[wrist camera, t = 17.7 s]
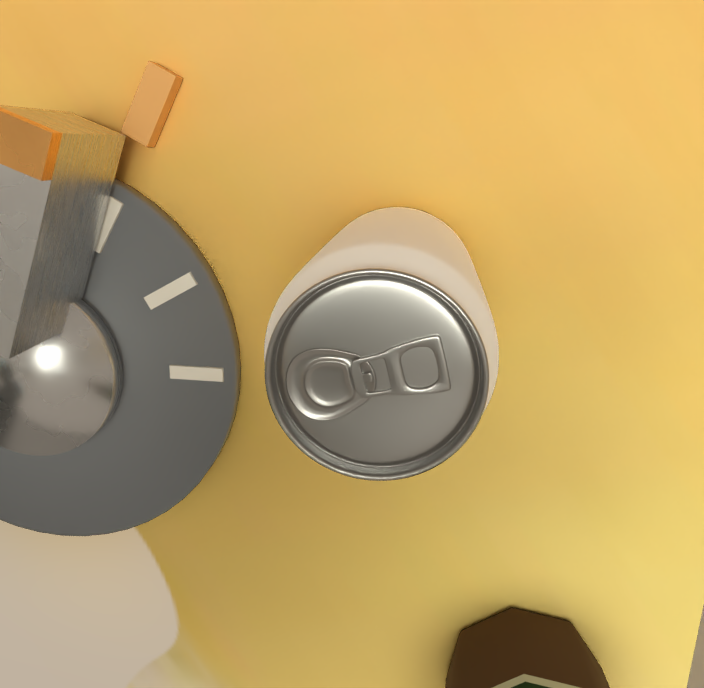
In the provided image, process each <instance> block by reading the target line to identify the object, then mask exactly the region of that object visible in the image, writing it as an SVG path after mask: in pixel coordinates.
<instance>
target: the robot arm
mask: <svg viewBox="0 0 704 688" xmlns="http://www.w3.org/2000/svg"><path fill="white" fill-rule="evenodd" d="M687 688H704V606H703V611H702V616H701V621H700V626H699V630H698V635H697V640H696V645H695V650H694V655H693V660H692V665H691V669H690V674H689V679H688V684H687Z"/></svg>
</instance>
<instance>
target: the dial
mask: <svg viewBox="0 0 704 688" xmlns="http://www.w3.org/2000/svg"><path fill="white" fill-rule="evenodd" d="M125 138H126V135H123V134H121V133H118V132H116V131H114V130H111V129H109V128H107V127H104V126H102V125H99V124H97V123H95V122H92V121H90V120H87V119H85V118H83V117H80V116H78V115H76V114H73V113H71V112H64V111H54V110H44V109H33V108H23V107H13V106H3V105H0V446H1V447H3V448H5V449H8V450H11V451H14V452H17V453H22V454H26V455H35V456H49V455H56V454H61V453H64V452H67V451H70V450H72V449H74V448H76V447H78V446H80V445H81V444H83V443H84V442H86V441H87V440H88V439H90V438H91V437H92V436H93V435H94V434H95V433H97V432H98V431H99V430H100V429H101V428H102V427H103V426H104V425H105V424H106V423H107V422H108V420H109V419H110V418H111V416H112V415H113V413H114V411H115V409H116V407H117V404H118V402H119V399H120V395H121V391H122V382H123V373H122V363H121V358H120V354H119V351H118V348H117V344H116V342H115V340H114V338H113V336H112V334H111V332H110V330H109V329H108V327H107V325H106V324H105V322H104V321H103V320H102V318H101V317H100V316H99V314H98V313H97V312H96V311H95V310H94V309H93V308H92V307H91V306H90V305H89V304H88V303H87V302H86V301H84V300H83V299H82V298H83V294H84V290H85V287H86V283H87V279H88V275H89V272H90V268H91V264H92V261H93V257H94V253H95V249H96V246H97V242H98V238H99V235H100V231H101V227H102V223H103V220H104V216H105V212H106V208H107V205H108V201H109V197H110V194H111V190H112V186H113V182H114V179H115V175H116V171H117V168H118V164H119V160H120V156H121V153H122V149H123V145H124V142H125Z"/></svg>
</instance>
